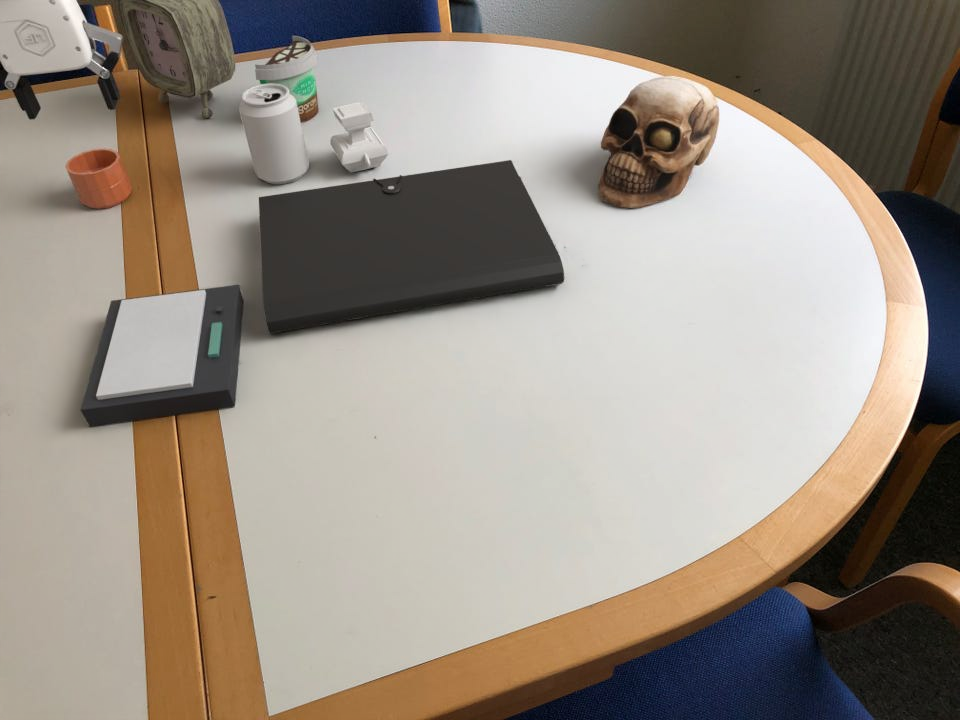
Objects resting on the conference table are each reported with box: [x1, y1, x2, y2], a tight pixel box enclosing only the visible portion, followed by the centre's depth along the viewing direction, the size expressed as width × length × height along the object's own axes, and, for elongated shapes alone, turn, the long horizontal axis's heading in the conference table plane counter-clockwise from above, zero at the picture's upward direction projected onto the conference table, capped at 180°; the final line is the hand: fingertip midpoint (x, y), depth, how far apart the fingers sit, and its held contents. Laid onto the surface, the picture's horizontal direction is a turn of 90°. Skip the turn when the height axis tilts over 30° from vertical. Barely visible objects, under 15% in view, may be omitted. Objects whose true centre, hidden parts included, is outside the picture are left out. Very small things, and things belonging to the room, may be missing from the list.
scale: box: [79, 284, 245, 428], centre depth 83 cm, size 14×17×3 cm
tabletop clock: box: [117, 0, 236, 119], centre depth 121 cm, size 14×9×25 cm, turn 55°
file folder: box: [258, 159, 565, 334], centre depth 95 cm, size 33×4×24 cm
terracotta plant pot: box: [65, 148, 133, 210], centre depth 107 cm, size 7×7×6 cm
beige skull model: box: [597, 75, 720, 209], centre depth 105 cm, size 16×17×13 cm
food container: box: [254, 35, 320, 124], centre depth 122 cm, size 12×6×10 cm, turn 161°
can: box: [238, 83, 310, 185], centre depth 108 cm, size 8×8×12 cm
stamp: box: [330, 101, 389, 174], centre depth 110 cm, size 9×7×8 cm
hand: (74, 109), depth 100 cm, fingers open, 9 cm apart
